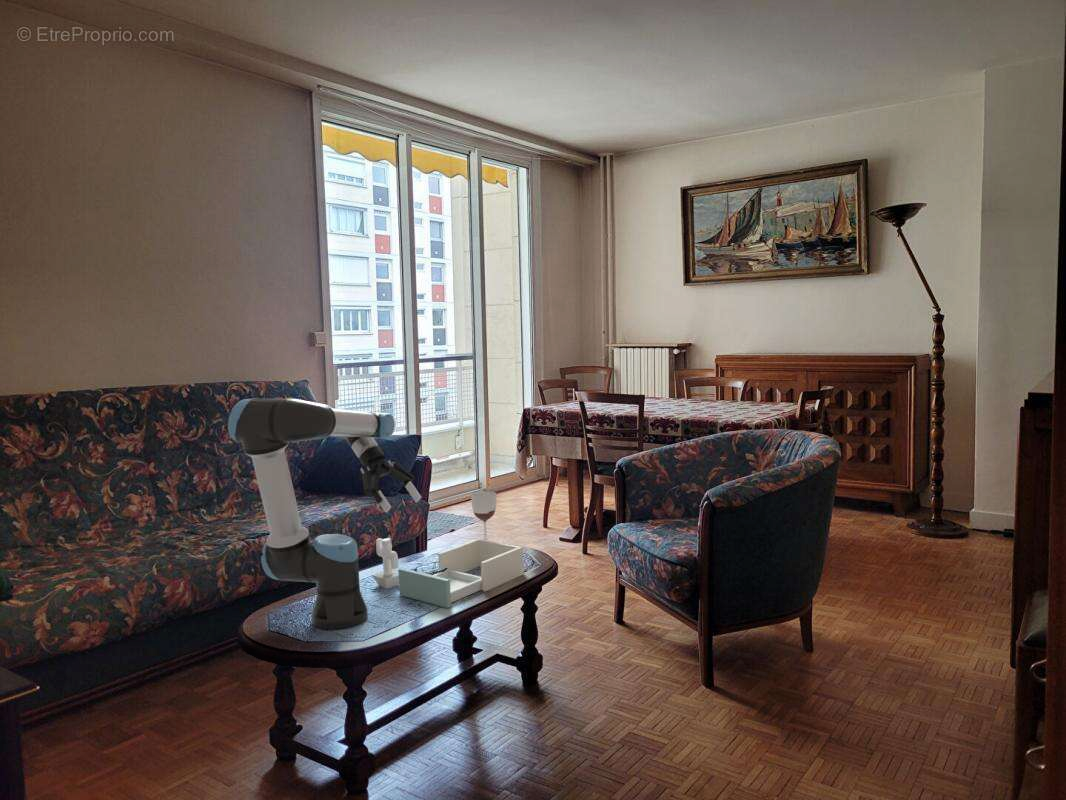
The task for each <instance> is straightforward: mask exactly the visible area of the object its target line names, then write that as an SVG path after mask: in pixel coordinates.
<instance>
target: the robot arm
mask: <svg viewBox="0 0 1066 800" xmlns="http://www.w3.org/2000/svg"><path fill="white" fill-rule="evenodd" d="M227 430H228V434H229V437H230V438H231V440H233V441H234V442H236V443H238V444H241V445H242V449H243V453H244V455H246V456H248V457H251V461H252V465H253V468H254V472H255V476H256V480H257V484H258V489H259V493H260V497H261V501H262V504H263V505H262V507H263V510H264V515H265V519H266V522H267V525H268V526H267V527H268V531H269V534H268V536H267V537H266V540H265V543H264V545H263V547H262V549H261V553H262V555H261V557H260V558H261V559H260V561H261V565H262V566H261V567H262V569H263V570H264V573H265V574H266V575H267V576H268V577H269V578H271V579H273V580H276V581H277V580H278V581H280V582H281V581H282V582H300V583H301V582H304V583H316V584H315V585H316V598H315V601H314V604H313V608H312V612H311V624H312V626H314V627H315V626H316V627H315V628H317V627H319V628H318V629H321V628H323V629H322V630H340V629H341V630H342V629H348V628H351V627H354V626H357V625H359V624H361V623H363V622H365V621H366V620H367V619H368V607H367V604H366V602H365V599H364V596H363V595H362V591H361V590H360V589H361V588H360V569H359V551H358V550H359V549H358V544H357V542H356V540H355V539H354V538H353V537H351V536H349V535H346V534H342V533H331V534H329V533H326V534H322V535H318V536H316V537H315V538H314V539H311V536H310V532H309V529H308V528H307V527H305V526H303V525H302V521H301V517H300V513H299V507H298V503H297V499H296V495H295V490H294V486H293V482H292V477H291V473H290V469H289V464H288V459H287V456H286V451H285V450H286V448H287V447H288V445H290V444H289V443H298V442H304V441H312V440H323V439H324V440H325V439H327V438H328V437H335V438H340V439H345V441H346V443H348V444H349V447H350V448H351V449H352V451H353V452H354V454H355V456H356V457H357V458H358V460H359V461H360V463H361V465H362V466H361V468H360V469H359V473H360V476H361V477H362V478H361V479H362V483H363V490H364V494H365V496H368V497H369V498H374V500H375V502H376V503H377V504H379V506H380V507H381V508H382V510H383V511H384V513H388V512H389V511H390V509H392V506H391V504H390V503H389V501H388V500H387V499H386V497H385V495H384V494H383V493H382V492H383V491H381V490H379V489H378V488H379V480H380V478H381V477H385V476H387V477H391V478H393V479H394V480H396V481H398V482H401V483H402V484H404V485H405V486H404V488H406V491H407V492H408V493H409V495H410V497H411V498H412V499H413V501H414V503H418V502H419V501H420V500H421V498H422V495H421V494H420V493H419V491H418V488H417V487H416V485H415V484H414V482H413V481H414V480H415V478H416V476H415V475H413V473H411V472H410V471H409V470H408V469H406V468H405V467H404V466H402V465H401V464H400V463H399V462H397V460H396V459H395V458H394V457H392V458H390V459H389V460H387V459H386V458H385V453H384V452H383V450H382V449H381V447H380V446H379V444H378V443H377V440H375V438H389V437H391V436H392V435H393V434H394V431H395V419H394V416H393V415H392V413H389V412H370V411H361V410H360V411H359V410H353V409H340V408H332V407H331V406H329V405H328V404H324V403H320V402H319V403H318V402H313V401H310V400H309V401H308V400H303V399H298V398H294V397H293V398H292V397H291V398H290V397H289V398H288V397H287V398H284V397H283V398H280V397H279V398H278V397H277V398H275V397H274V398H272V397H271V398H268V397H267V398H266V397H265V398H259V397H254V398H245V399H241V400H240V401H238V402H236V404H235V405H234V406H233V408H232V409H231V411H230V414H229V415H228V421H227ZM370 474H371V475H370Z"/></svg>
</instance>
